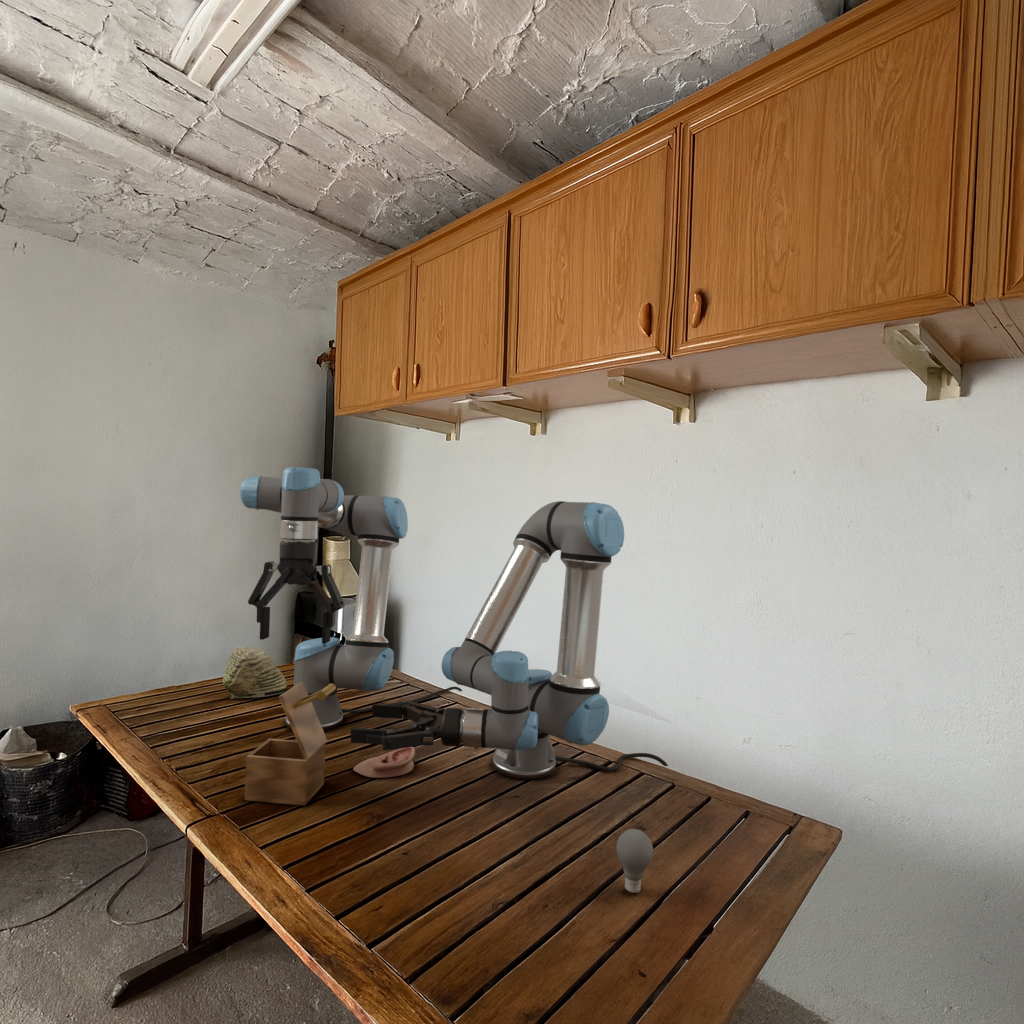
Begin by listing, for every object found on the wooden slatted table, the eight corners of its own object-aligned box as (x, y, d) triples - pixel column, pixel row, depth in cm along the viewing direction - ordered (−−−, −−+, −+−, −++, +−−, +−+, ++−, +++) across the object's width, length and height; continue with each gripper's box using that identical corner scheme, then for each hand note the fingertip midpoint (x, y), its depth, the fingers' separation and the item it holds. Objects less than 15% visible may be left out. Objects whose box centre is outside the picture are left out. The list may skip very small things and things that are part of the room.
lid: (278, 696, 130) (314, 681, 129) (299, 682, 140) (333, 668, 139) (304, 759, 129) (341, 745, 129) (324, 741, 140) (358, 727, 139)
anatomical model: (347, 757, 144) (369, 739, 156) (347, 774, 144) (368, 755, 156) (402, 764, 142) (420, 745, 153) (402, 782, 142) (419, 762, 153)
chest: (244, 800, 131) (245, 756, 131) (267, 779, 141) (269, 738, 141) (304, 805, 130) (306, 761, 129) (324, 784, 140) (325, 742, 140)
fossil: (218, 695, 195) (220, 647, 195) (278, 685, 208) (279, 640, 207) (228, 703, 189) (230, 653, 188) (289, 692, 201) (290, 645, 201)
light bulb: (610, 879, 108) (613, 822, 108) (644, 879, 109) (647, 822, 109) (619, 902, 102) (622, 840, 102) (655, 901, 103) (658, 840, 103)
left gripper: (233, 538, 131) (229, 640, 132) (349, 544, 129) (345, 648, 130) (251, 536, 139) (247, 632, 139) (361, 542, 137) (358, 640, 137)
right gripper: (451, 772, 118) (341, 766, 120) (472, 722, 143) (380, 717, 145) (451, 733, 118) (341, 727, 120) (472, 689, 143) (380, 685, 145)
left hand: (295, 640), depth 134 cm, fingers open, 13 cm apart
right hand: (362, 722), depth 132 cm, fingers open, 13 cm apart
